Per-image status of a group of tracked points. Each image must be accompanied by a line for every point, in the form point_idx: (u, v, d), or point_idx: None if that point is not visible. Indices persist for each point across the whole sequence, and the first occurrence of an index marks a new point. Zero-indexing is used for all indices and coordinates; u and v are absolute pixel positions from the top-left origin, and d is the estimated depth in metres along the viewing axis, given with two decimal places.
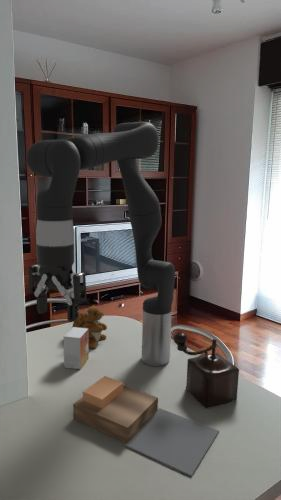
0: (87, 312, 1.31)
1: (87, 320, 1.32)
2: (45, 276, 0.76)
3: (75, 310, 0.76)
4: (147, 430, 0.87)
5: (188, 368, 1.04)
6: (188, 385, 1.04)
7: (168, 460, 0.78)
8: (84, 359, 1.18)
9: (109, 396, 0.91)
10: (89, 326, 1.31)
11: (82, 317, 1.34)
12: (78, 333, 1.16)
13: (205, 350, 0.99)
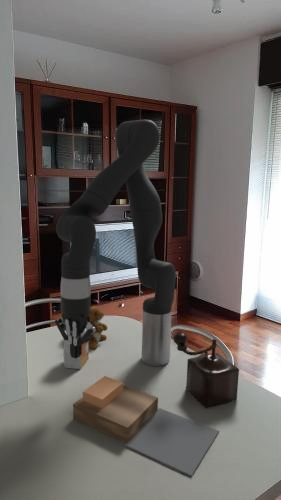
0: None
1: None
2: (67, 320, 0.95)
3: (79, 349, 0.96)
4: (147, 430, 0.87)
5: (188, 368, 1.04)
6: (188, 385, 1.04)
7: (168, 460, 0.78)
8: (84, 359, 1.18)
9: (109, 396, 0.91)
10: None
11: None
12: None
13: (205, 350, 0.99)
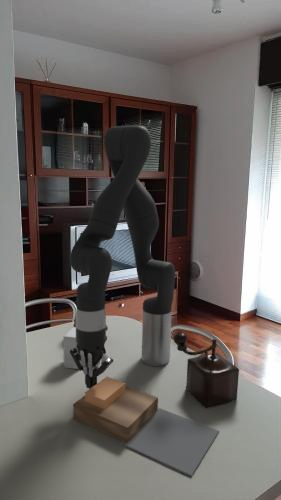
0: None
1: None
2: (82, 352, 0.93)
3: (94, 380, 0.95)
4: (147, 430, 0.87)
5: (188, 368, 1.04)
6: (188, 385, 1.04)
7: (168, 460, 0.78)
8: None
9: (111, 396, 0.91)
10: None
11: None
12: None
13: (205, 350, 0.99)
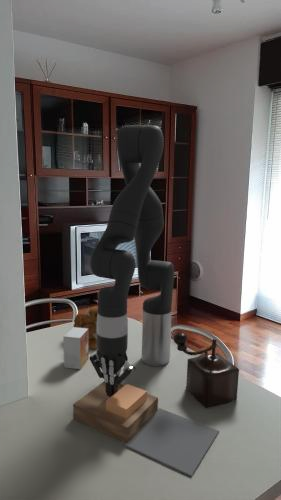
0: (88, 313, 1.30)
1: (88, 321, 1.31)
2: (103, 359, 0.90)
3: (115, 388, 0.92)
4: (147, 430, 0.87)
5: (188, 368, 1.04)
6: (188, 385, 1.04)
7: (168, 460, 0.78)
8: (84, 359, 1.18)
9: (133, 405, 0.88)
10: (90, 327, 1.30)
11: (83, 318, 1.34)
12: (78, 333, 1.16)
13: (205, 350, 0.99)
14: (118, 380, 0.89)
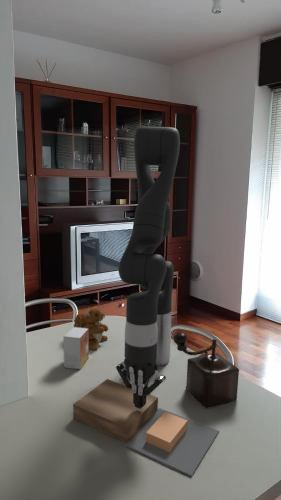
0: (88, 313, 1.30)
1: (88, 321, 1.31)
2: (131, 368, 0.86)
3: (144, 399, 0.87)
4: (147, 430, 0.87)
5: (188, 368, 1.04)
6: (188, 385, 1.04)
7: (168, 460, 0.78)
8: (84, 359, 1.18)
9: None
10: (90, 327, 1.30)
11: (83, 318, 1.33)
12: (78, 333, 1.16)
13: (205, 350, 0.99)
14: (147, 391, 0.85)
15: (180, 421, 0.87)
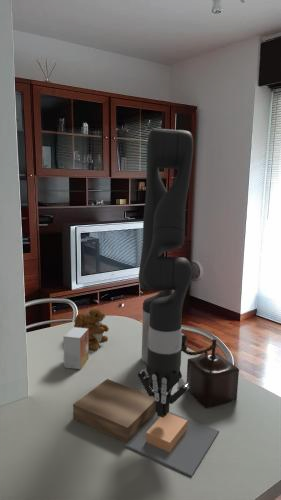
0: (89, 313, 1.30)
1: (89, 321, 1.31)
2: (154, 376, 0.83)
3: (167, 407, 0.84)
4: (147, 430, 0.87)
5: (188, 368, 1.04)
6: None
7: (168, 460, 0.78)
8: (84, 359, 1.18)
9: None
10: (91, 327, 1.30)
11: (83, 318, 1.33)
12: (78, 333, 1.16)
13: (205, 350, 0.99)
14: (171, 399, 0.82)
15: (180, 421, 0.87)
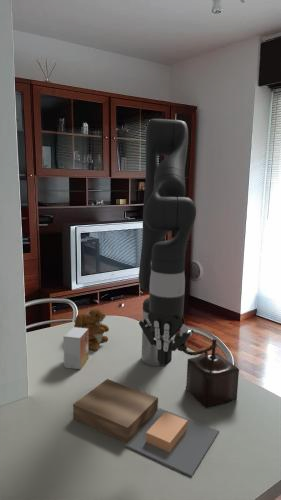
0: (89, 313, 1.30)
1: (89, 322, 1.31)
2: (156, 322, 0.80)
3: (169, 355, 0.82)
4: (147, 430, 0.87)
5: (188, 368, 1.04)
6: (188, 385, 1.04)
7: (168, 460, 0.78)
8: (84, 359, 1.18)
9: None
10: (91, 328, 1.30)
11: (84, 318, 1.33)
12: (78, 333, 1.16)
13: (205, 350, 0.99)
14: (174, 346, 0.80)
15: (180, 421, 0.87)
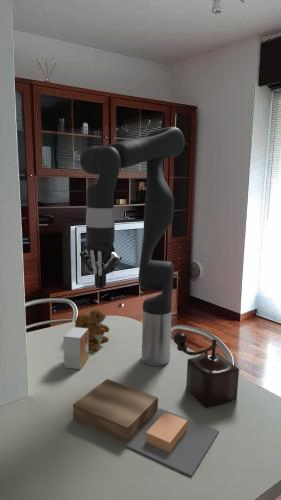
0: (89, 314, 1.29)
1: (89, 322, 1.30)
2: (92, 251, 0.99)
3: (104, 279, 1.00)
4: (147, 430, 0.87)
5: (188, 368, 1.04)
6: (188, 385, 1.04)
7: (168, 460, 0.78)
8: (84, 359, 1.18)
9: None
10: (91, 328, 1.29)
11: (84, 319, 1.33)
12: (78, 333, 1.16)
13: (205, 350, 0.99)
14: (106, 270, 0.98)
15: (180, 421, 0.87)
